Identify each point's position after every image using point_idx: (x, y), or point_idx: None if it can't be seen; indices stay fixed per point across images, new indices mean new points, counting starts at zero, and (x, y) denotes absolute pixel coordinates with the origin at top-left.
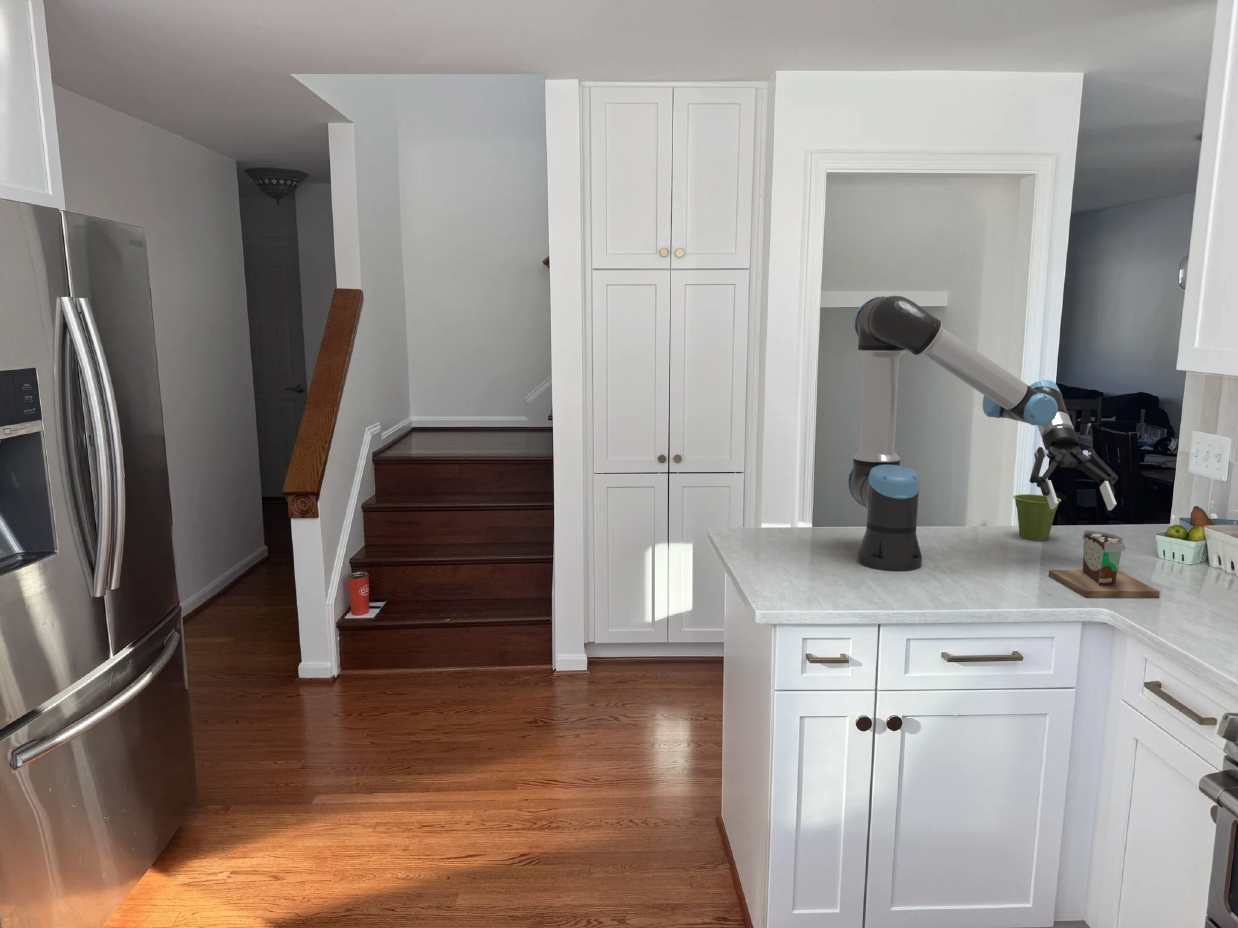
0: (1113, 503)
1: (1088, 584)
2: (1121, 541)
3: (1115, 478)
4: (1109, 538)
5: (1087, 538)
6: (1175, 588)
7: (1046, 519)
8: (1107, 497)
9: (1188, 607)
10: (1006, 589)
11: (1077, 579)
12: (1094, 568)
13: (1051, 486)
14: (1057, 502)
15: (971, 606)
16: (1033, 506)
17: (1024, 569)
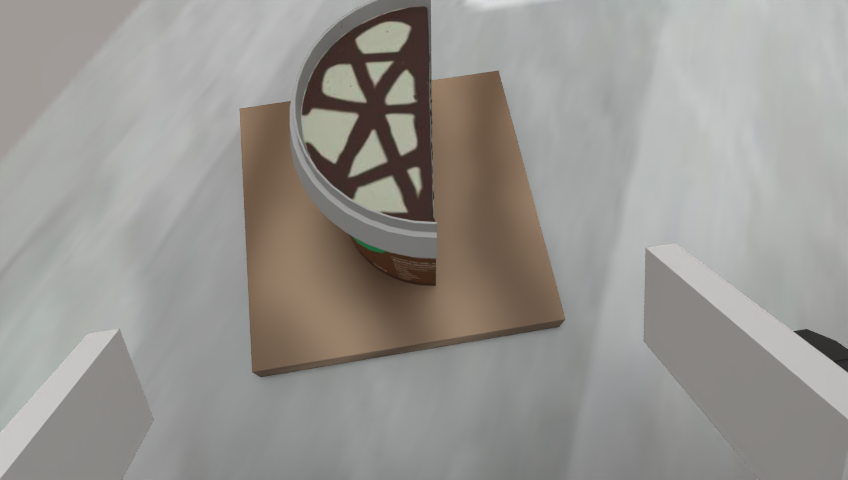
0: (116, 330)
1: (464, 142)
2: (332, 27)
3: None
4: (331, 155)
5: (432, 200)
6: (115, 240)
7: None
8: (86, 448)
9: (209, 51)
10: (747, 127)
11: (485, 195)
12: (432, 152)
13: (788, 351)
14: (656, 250)
15: None
16: None
17: (646, 419)
